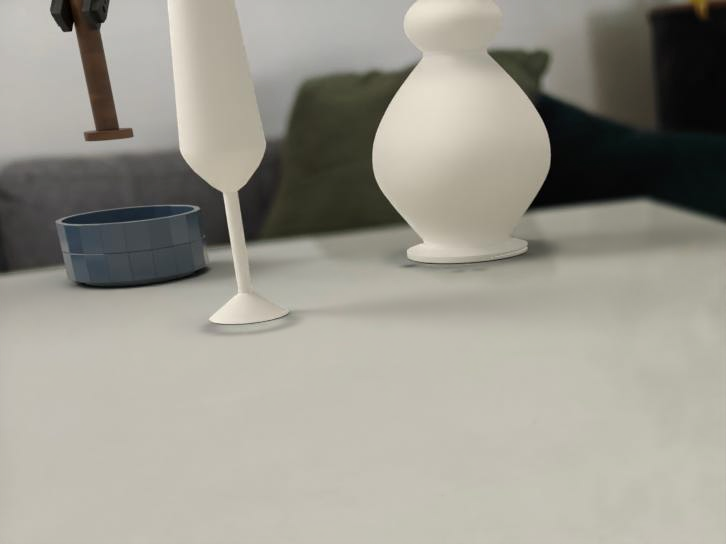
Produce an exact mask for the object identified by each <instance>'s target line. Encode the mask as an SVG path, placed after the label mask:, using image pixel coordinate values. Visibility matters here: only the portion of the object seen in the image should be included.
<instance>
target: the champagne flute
mask: <svg viewBox="0 0 726 544" xmlns="http://www.w3.org/2000/svg"><path fill="white" fill-rule="evenodd" d="M166 3H167V15H168V26H169V37H170V38H169V40H170V51H171V63H172V72H173V85H174V97H175V109H176V111H175V112H176V121H177V133H178V144H179V145H178V146H179V151H180V154H181V156H182V158H183V159H184V161H185V162H186V164H187V165H189V168H190V169H191V170H192V171H193V172H194V173H195V174H197V175H198V176H199V177H200V178H201V179H202V180H203V181H205V182H206V183H207V184H208V185H210V186H211V187H212V188H214V189H216V190H218V191H219V192H221V193H222V196H223V197H222V198H223V202H224V209H225V215H226V222H227V228H228V235H229V241H230V246H231V253H232V261H233V266H234V272H235V278H236V285H237V293H236V294H235V295H234V296H233V297H232V298H230V300H228V301H226V303H225V304H224V305H222V306H221V307H220V308H219V309H218V310H217V311H215V312H214V313H213V314H212V315H211V316H209V318H208V320H209V322H211V323H214V324H222V325H240V324H241V325H243V324H244V325H245V324H255V323H262V322H266V321H271V320H275V319H278V318H282V317H284V316H286V315H288V314H289V312H290V310H289V309H287V308H285V307H283V306H281V305H280V304H278V303H276V302H274V301H272V300H270V299H268V298H266V297H265V296H263V295H261V294H259V293H258V292H255V291H254V290H253V284H252V278H251V271H250V264H249V258H248V251H247V245H246V238H245V237H246V236H245V232H244V223H243V218H242V212H241V205H240V198H239V192H238V191H240V190H241V189H242V188H243V187H244V186H245V185H247V183H248V182H249V181H250V179H251V178H252V176H253V175H254V173H255V172H256V171H257V169H258V168H259V167H260V164H261V162H262V160H263V158H264V155H265V153H266V149H267V141H266V136H265V132H264V128H263V122H262V118H261V114H260V109H259V105H258V100H257V97H256V92H255V87H254V82H253V79H252V74H251V68H250V64H249V59H248V55H247V51H246V45H245V42H244V38H243V33H242V28H241V25H240V20H239V15H238V10H237V5H236V2H235V0H166Z"/></svg>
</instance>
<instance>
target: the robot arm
mask: <svg viewBox="0 0 726 544" xmlns="http://www.w3.org/2000/svg"><path fill="white" fill-rule="evenodd" d="M110 1H111V0H84V3H83V9H82V12H83V16H84V18H85V20H86V21H87V23H88V25H89V27H90V28H91V30H99V29H100V30H101V28H102V24H104V23H105V22H106V20H107V18H108V14H109V13H108V12H109V7H110ZM49 13H50V15H51V17H52V18H53V20H54V22H55V23H56V25H57V26H58V27H59V28H60V29H61V31H62V32H63V33H71V32H73V30H74V29H73V28H74V21H73V16H72V11H71V6H70V2H69V0H51V2H50V7H49Z"/></svg>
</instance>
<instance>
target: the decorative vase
mask: <svg viewBox="0 0 726 544" xmlns="http://www.w3.org/2000/svg"><path fill="white" fill-rule="evenodd" d="M503 19H504V18H503V13H502V11H501V9H500V7H499V6H498V5H497V3H495V2H494V0H415V1H414V3H413V4H412V5H411V6H410V7H409V8H408V10H407V12H406V13H405V15H404V19H403V24H402V25H403V31H404V34H405V36H406V38H407V39H408V40H409V41H410V42H411V44H413V45H414V47H416V48H417V49H418V50H419V51H420V52H422V58H421V60H419V62H418V63H417V65H416V66H415V67H414V68H413V69H412V71H411V72H410V74H409V75H408V77H407V78H406V79H405V80H404V82H403V83H402V84H401V86H400V87H399V89H398V90H397V92H396V93H395V95H394V96H393V98H391V100H390V103H389V104H388V106H387V108H386V110H385V112H384V115H383V116H382V118H381V120H380V122H379V125H378V127H377V130H376V132H375V136H374V140H373V144H372V154H371V155H372V160H371V161H372V162H371V163H372V171H373V174H374V179H375V182H376V183H377V186H378V187H379V189H380V191H381V192H382V194H383V195H384V196H385V197H386V199H387V200H388V201H389V203H390V204H391V206H392V207H393V208H394V209H395V210H396V212H397V213H398V214H399V215H400V216H401V217H402V219H403V220H404V221H405V222H407V224H408V225H409V226H410V227H411V229H412V230H413V231H414V232H415V233H416V234H417V235H418V236H419V237H420V238H421V240H422V241H423V242H422V243H418V244H414V245H413V246H410V247H408V248H407V250H406V257H407V259H408V260H410V261H414V262H418V263H426V264H427V263H428V264H464V263H465V264H467V263H477V262H478V263H479V262H488V261H495V260H502V259H507V258H511V257H515V256H519V255H521V254H524V253H526V252H527V251H528V249H529V244H528V241H526V240H524V239H521V238H518V237H511V235H510V234H511V233H512V232H513V231H514V230H515V228H516V226H517V225H518V223H519V222H520V221H521V219H522V218H523V216H524V215H525V213H526V212H527V210H528V209H529V207H530V206H531V204H532V203H533V201H534V199H535V198H536V197H537V195H538V193H539V191H540V190H541V189H542V186H543V185H544V182H545V181H546V179H547V176H548V174H549V171H550V168H551V157H552V153H551V151H552V150H551V143H550V137H549V133H548V130H547V128H546V125H545V123H544V120H543V119H542V117H541V115H540V113H539V112H538V110H537V109H536V107H535V105H534V103H533V102H532V100H530V98H529V97H528V95H527V94H526V93H525V91H524V90H523V89H522V88H521V86H520V85H519V84H518V83H517V82H516V81H515V80H514V79H513V77H512V76H511V75H509V73H508V72H506V70H505V69H504V68H503V67H502V66H501V65H500V64H499V63H498V62H497V61H496V60H495V59H494V58H493V57H492V56H491V55H490V53H488V48H489V46H490V45H491V44H492V43H493V42H494V41H495V39H496V38H497V37H498V36H499V34H500V32H501V30H502V28H503V24H504V20H503ZM527 245H528V247H527ZM525 247H527V249H525V250H523V251H521V252H518V253H514V254H510V255H505V254H509V253H513V252H516V251H519V250H522V249H523V248H525ZM500 255H505V256H500ZM495 256H500V257H495ZM491 257H493V258H491ZM484 258H485V259H484Z"/></svg>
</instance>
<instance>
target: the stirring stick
mask: <svg viewBox="0 0 726 544" xmlns="http://www.w3.org/2000/svg"><path fill="white" fill-rule="evenodd" d="M69 2H70V6H71V11H72V16H73V21H74V24H73V27H74V29H75V30H74V31H75V35H76V40H77V46H78V49H79V54H80V58H81V59H80V60H81V64H82V69H83V75H84V79H85V83H86V88H87V89H86V90H87V95H88V98H89V99H88V100H89V103H90V108H91V113H92V118H93V122H94V129H95V130H93V129H92V130H87V131H83V138H84V141H85V142H104V141H105V142H106V141H115V140H116V141H117V140H123V139H125V140H126V139H130V138H134V136H135V135H134V130H133V127H120V124H119V120H118V115H117V109H116V104H115V99H114V95H113V90H112V84H111V78H110V74H109V69H108V64H107V57H106V54H105V49H104V44H103V43H104V42H103V39H102V34H101V28H100V29H99V30H91V28H90V27H89V25H88V23H87V21H86V20H85V18H84V16H83V12H82V9H83V3H84V0H69Z"/></svg>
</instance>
